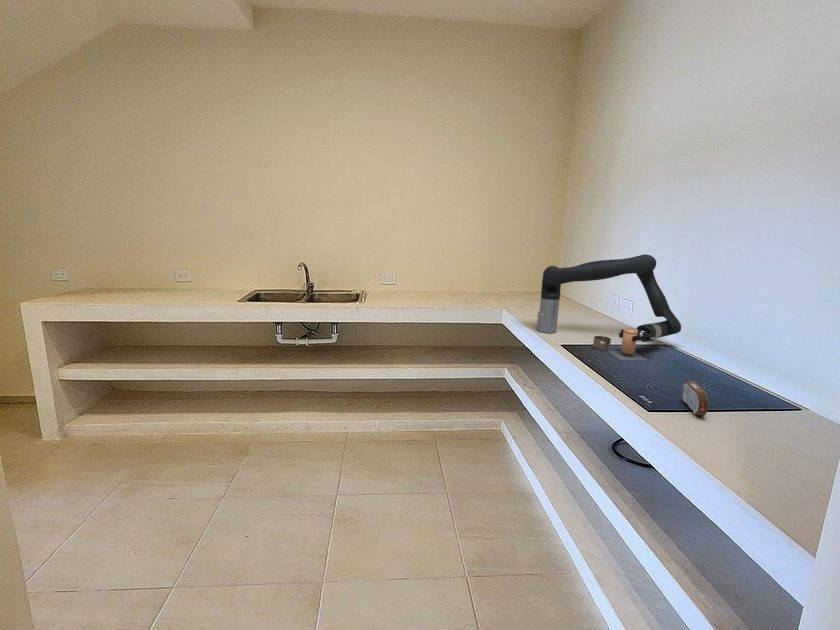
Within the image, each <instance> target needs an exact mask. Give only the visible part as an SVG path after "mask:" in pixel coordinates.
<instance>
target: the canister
mask: <svg viewBox="0 0 840 630" xmlns="http://www.w3.org/2000/svg"><path fill="white" fill-rule="evenodd" d="M611 341H612V338H610V337H609V336H605V335H594V336H593V343H592V348H593V349H594V350H596V351H597V350H598V351H604V352H605V351H610V349H611V343H612V342H611Z"/></svg>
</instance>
